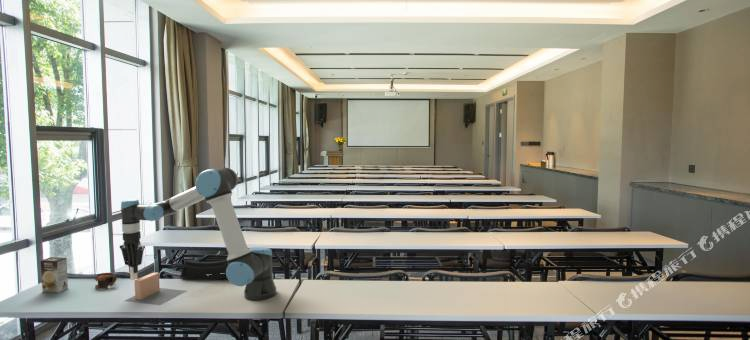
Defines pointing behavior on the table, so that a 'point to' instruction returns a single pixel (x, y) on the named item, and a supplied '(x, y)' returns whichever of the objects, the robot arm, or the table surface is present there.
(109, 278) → the pottery mug
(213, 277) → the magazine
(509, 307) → the table surface
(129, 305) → the table surface
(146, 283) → the board
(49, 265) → the coffee box
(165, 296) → the mat
